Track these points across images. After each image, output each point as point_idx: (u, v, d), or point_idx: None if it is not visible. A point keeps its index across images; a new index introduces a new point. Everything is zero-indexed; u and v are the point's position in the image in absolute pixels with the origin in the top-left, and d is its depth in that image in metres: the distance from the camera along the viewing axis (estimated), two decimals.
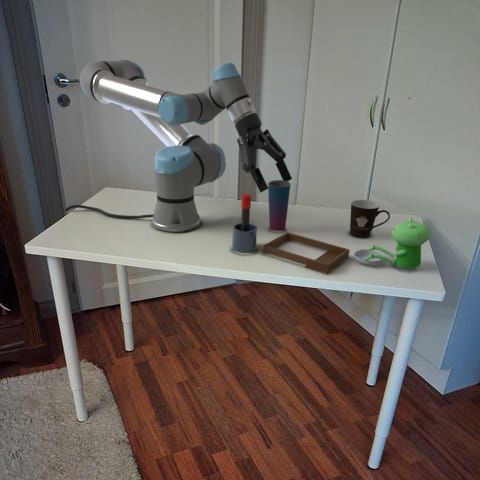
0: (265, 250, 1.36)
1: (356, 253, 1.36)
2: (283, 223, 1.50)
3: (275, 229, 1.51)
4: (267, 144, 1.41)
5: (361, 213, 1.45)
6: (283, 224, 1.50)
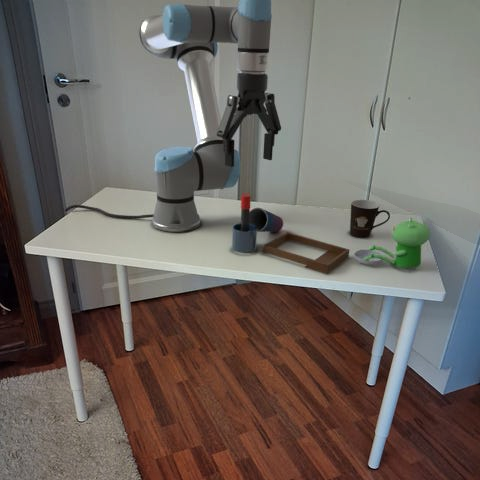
0: (265, 250, 1.36)
1: (356, 253, 1.36)
2: (278, 227, 1.47)
3: None
4: (262, 113, 1.21)
5: (361, 213, 1.45)
6: (279, 227, 1.48)
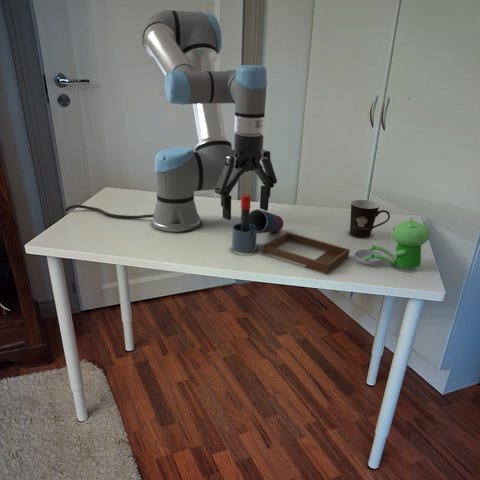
0: (265, 250, 1.36)
1: (356, 253, 1.36)
2: (279, 228, 1.47)
3: None
4: (259, 170, 1.27)
5: (361, 213, 1.45)
6: (279, 228, 1.48)
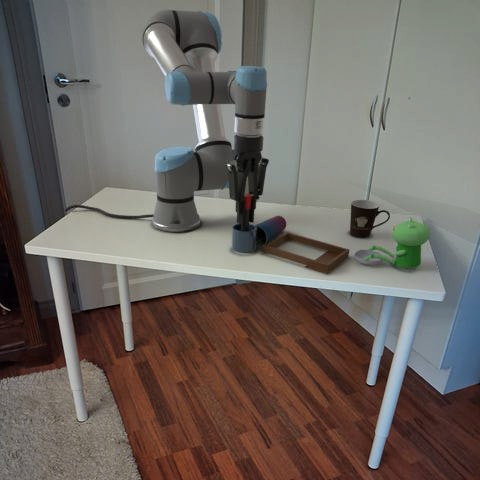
0: (265, 250, 1.36)
1: (356, 253, 1.36)
2: (280, 232, 1.48)
3: None
4: (253, 173, 1.27)
5: (361, 213, 1.45)
6: None
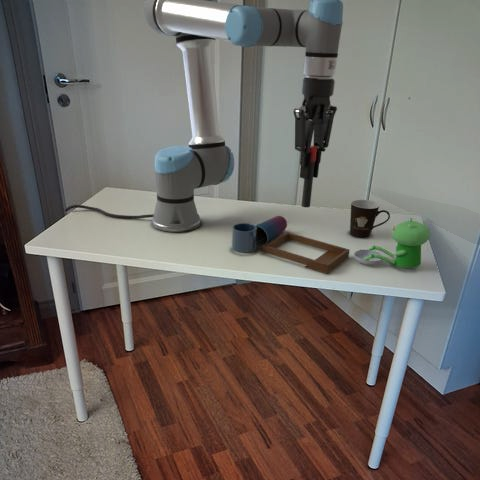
0: (265, 250, 1.36)
1: (356, 253, 1.36)
2: None
3: None
4: (321, 121, 1.17)
5: (361, 213, 1.45)
6: (281, 232, 1.48)
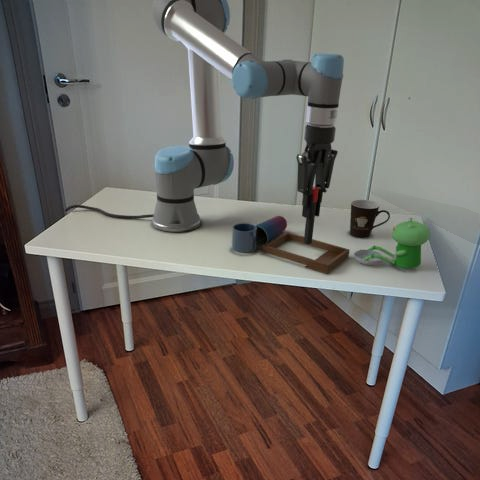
0: (265, 250, 1.36)
1: (356, 253, 1.36)
2: None
3: None
4: (322, 165, 1.23)
5: (361, 213, 1.45)
6: (281, 232, 1.48)
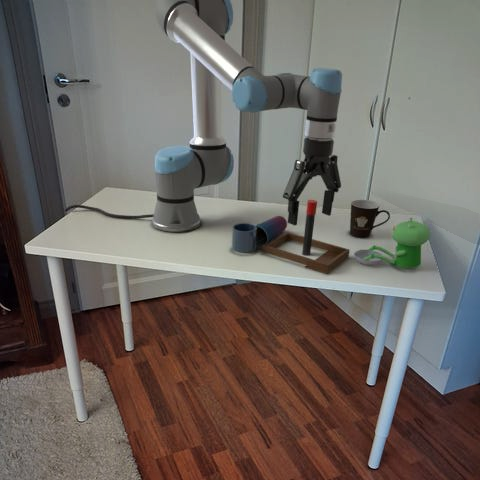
0: (265, 250, 1.36)
1: (356, 253, 1.36)
2: None
3: None
4: (326, 174, 1.25)
5: (361, 213, 1.45)
6: (281, 232, 1.48)
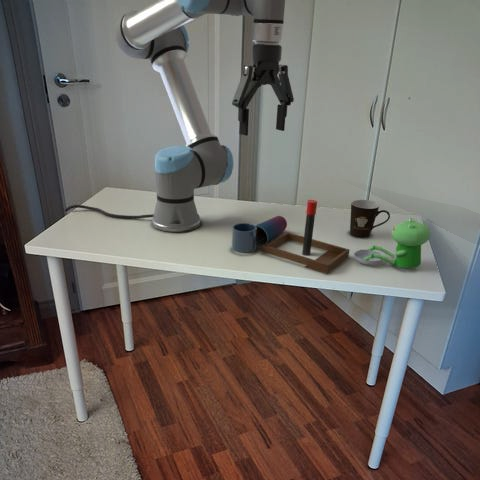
0: (265, 250, 1.36)
1: (356, 253, 1.36)
2: None
3: None
4: (276, 84, 1.26)
5: (361, 213, 1.45)
6: (281, 232, 1.48)
